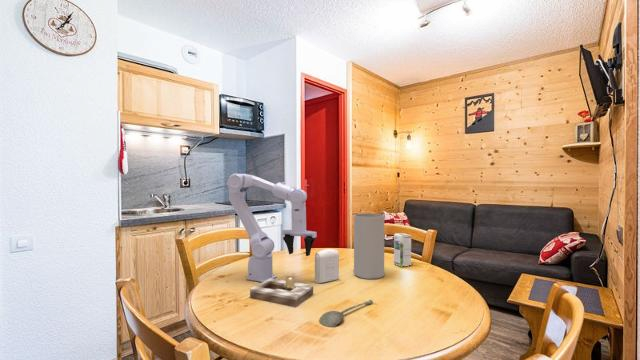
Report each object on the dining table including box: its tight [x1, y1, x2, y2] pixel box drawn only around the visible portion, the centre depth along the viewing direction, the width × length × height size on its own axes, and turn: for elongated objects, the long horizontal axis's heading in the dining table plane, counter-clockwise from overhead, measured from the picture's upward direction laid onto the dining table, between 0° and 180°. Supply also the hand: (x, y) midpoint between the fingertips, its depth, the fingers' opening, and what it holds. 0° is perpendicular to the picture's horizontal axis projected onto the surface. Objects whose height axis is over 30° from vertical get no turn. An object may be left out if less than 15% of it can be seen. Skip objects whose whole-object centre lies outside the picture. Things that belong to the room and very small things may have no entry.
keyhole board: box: [249, 278, 314, 308], centre depth 107 cm, size 18×12×3 cm, turn 64°
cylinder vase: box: [353, 212, 385, 280], centre depth 129 cm, size 12×12×25 cm
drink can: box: [393, 232, 412, 267], centre depth 143 cm, size 6×6×14 cm
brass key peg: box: [285, 275, 295, 291], centre depth 106 cm, size 5×5×6 cm
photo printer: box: [314, 248, 340, 284], centre depth 122 cm, size 10×4×12 cm, turn 123°
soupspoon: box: [318, 299, 374, 329], centre depth 93 cm, size 22×3×7 cm
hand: (299, 254), depth 122 cm, fingers open, 7 cm apart
